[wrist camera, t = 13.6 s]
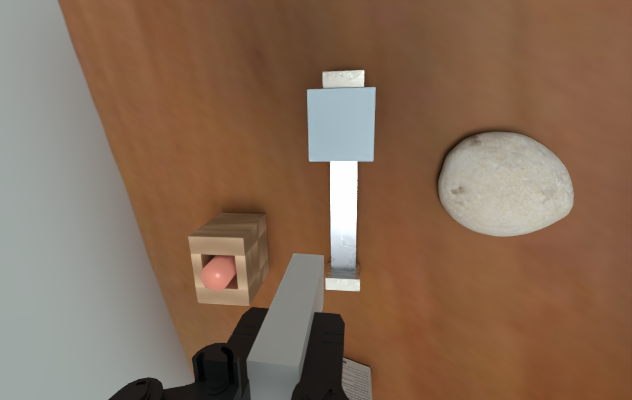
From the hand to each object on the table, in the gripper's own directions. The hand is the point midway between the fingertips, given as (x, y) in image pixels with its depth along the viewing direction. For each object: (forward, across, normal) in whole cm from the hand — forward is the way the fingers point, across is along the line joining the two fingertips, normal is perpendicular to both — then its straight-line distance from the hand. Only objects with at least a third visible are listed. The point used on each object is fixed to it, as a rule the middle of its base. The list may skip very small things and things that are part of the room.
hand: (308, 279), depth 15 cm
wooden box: (+22, -12, -9) cm, 26 cm away
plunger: (+21, -12, -9) cm, 25 cm away
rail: (+22, +1, 0) cm, 22 cm away
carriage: (+22, +1, +7) cm, 23 cm away
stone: (+23, +18, 0) cm, 29 cm away
